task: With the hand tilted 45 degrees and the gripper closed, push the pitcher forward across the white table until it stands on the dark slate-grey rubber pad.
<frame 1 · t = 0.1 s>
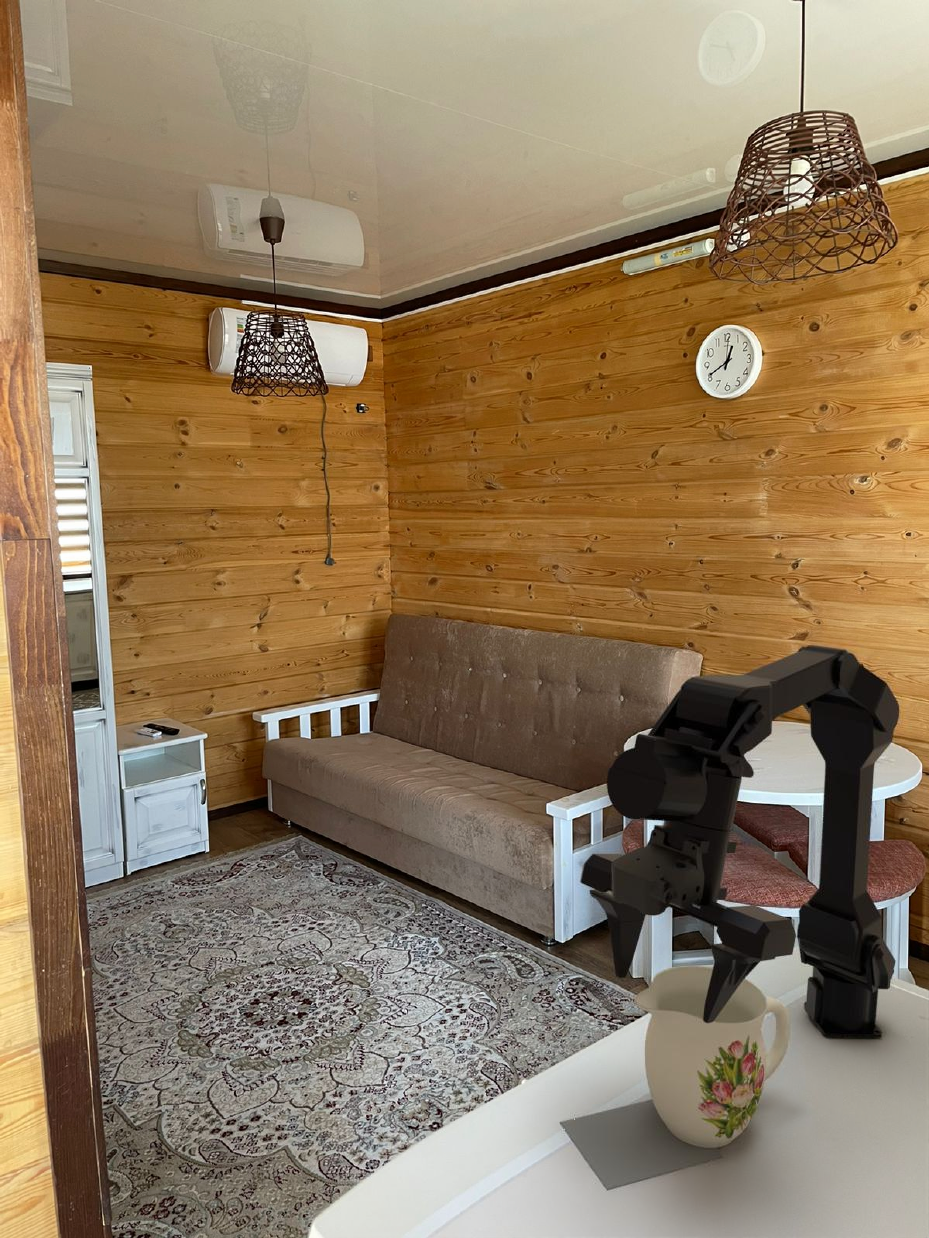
hand: (662, 998, 80), 15 cm above the table, tool pointing down, fingers open, 9 cm apart
pitcher: (708, 1122, 87), on the table, touching slate pad
slate pad: (639, 1143, 85), on the table
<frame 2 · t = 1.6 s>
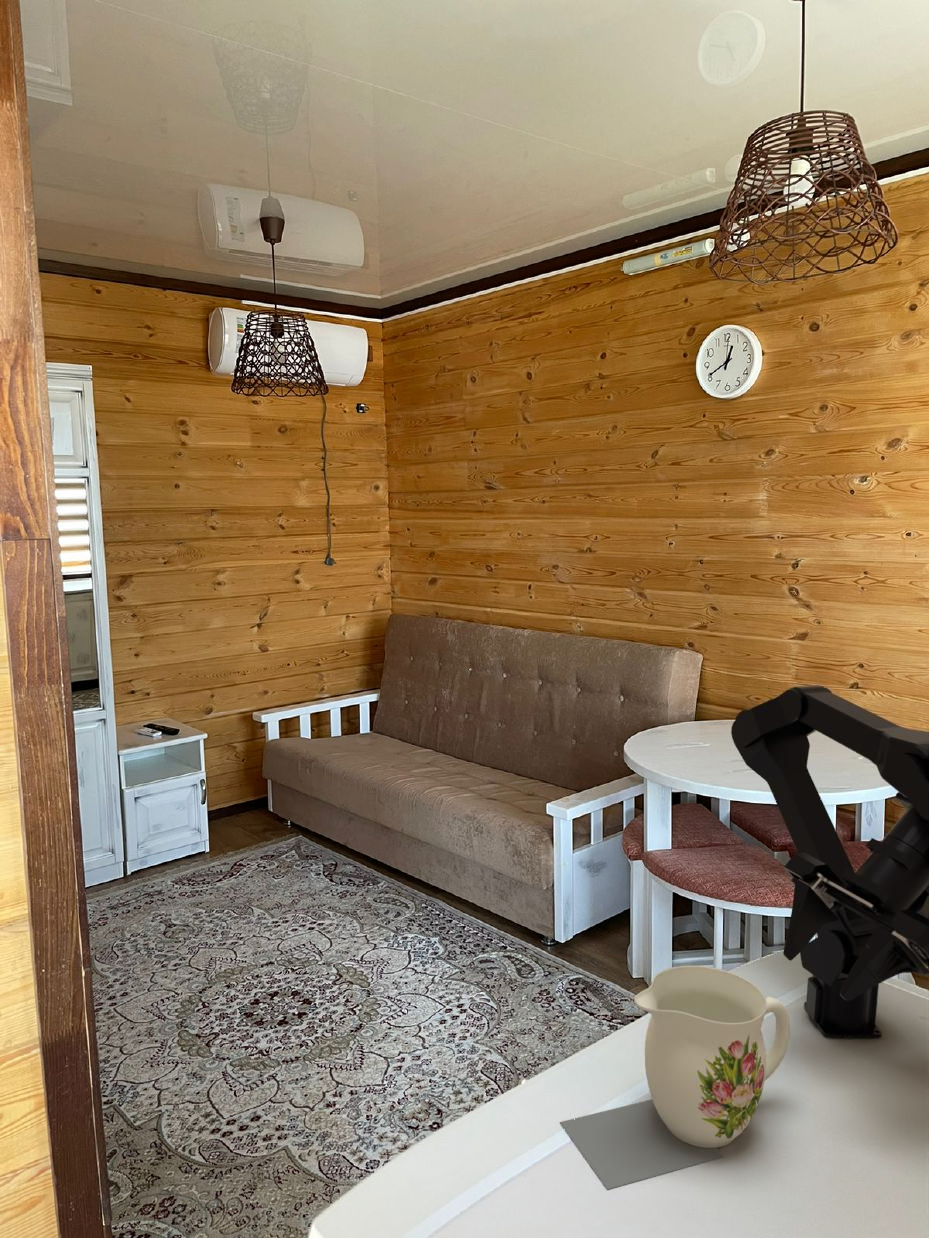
hand: (813, 976, 90), 13 cm above the table, tool tilted 45°, fingers open, 8 cm apart
nothing on the table moved.
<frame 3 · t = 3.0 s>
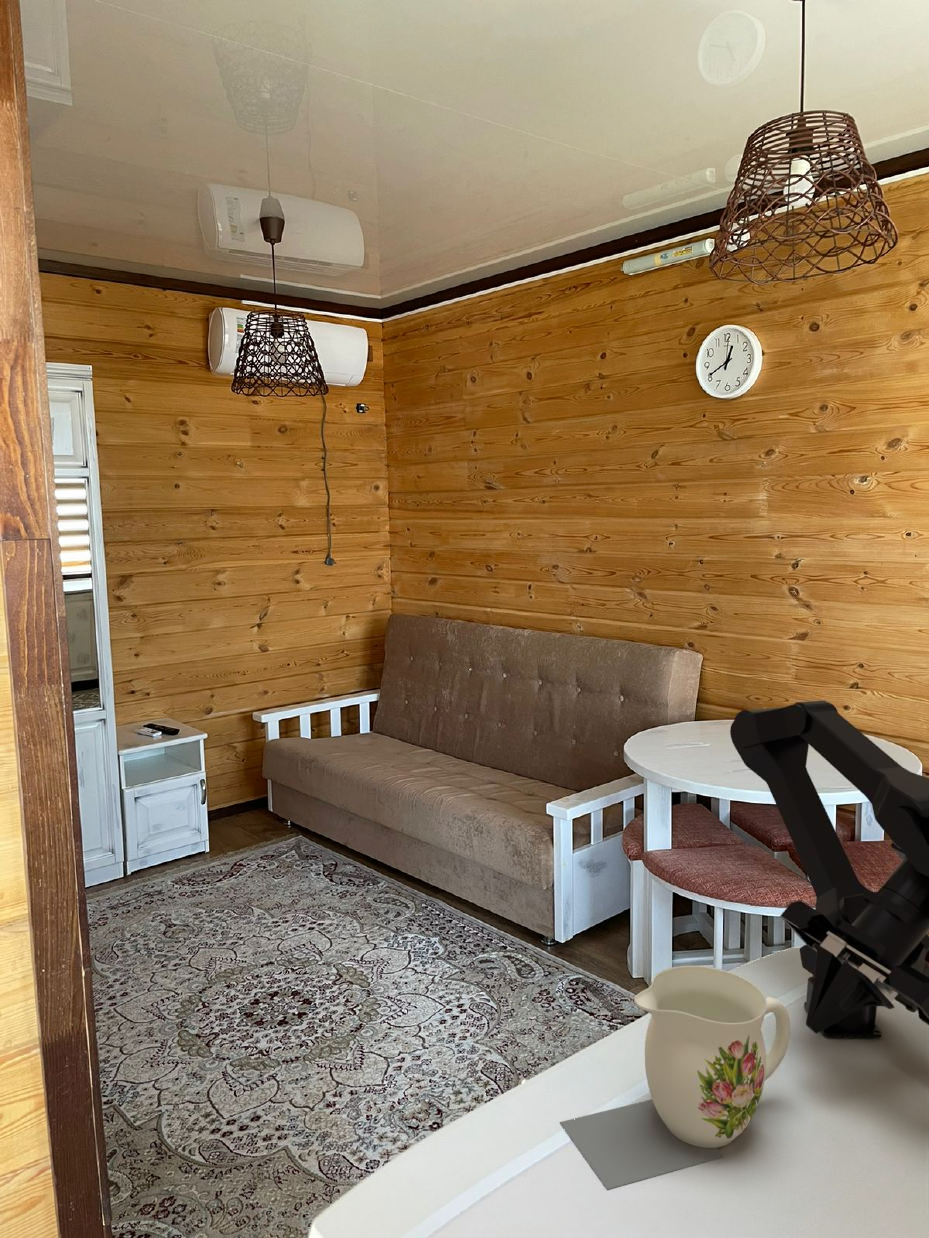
hand: (810, 1029, 90), 7 cm above the table, tool tilted 45°, fingers closed
nothing on the table moved.
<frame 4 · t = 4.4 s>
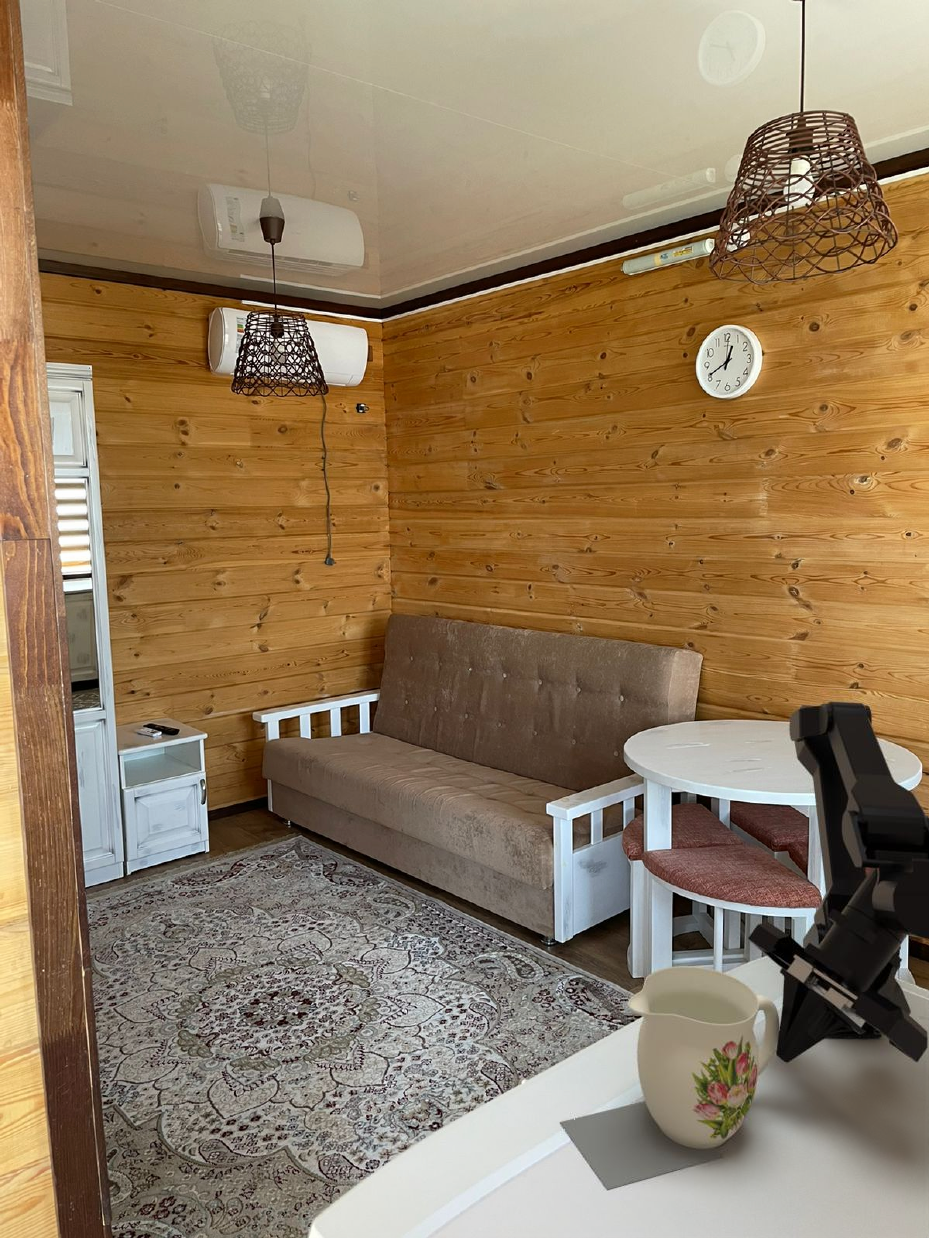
hand: (781, 1058, 87), 6 cm above the table, tool tilted 40°, fingers closed
pitcher: (700, 1123, 87), on the table, touching gripper, slate pad
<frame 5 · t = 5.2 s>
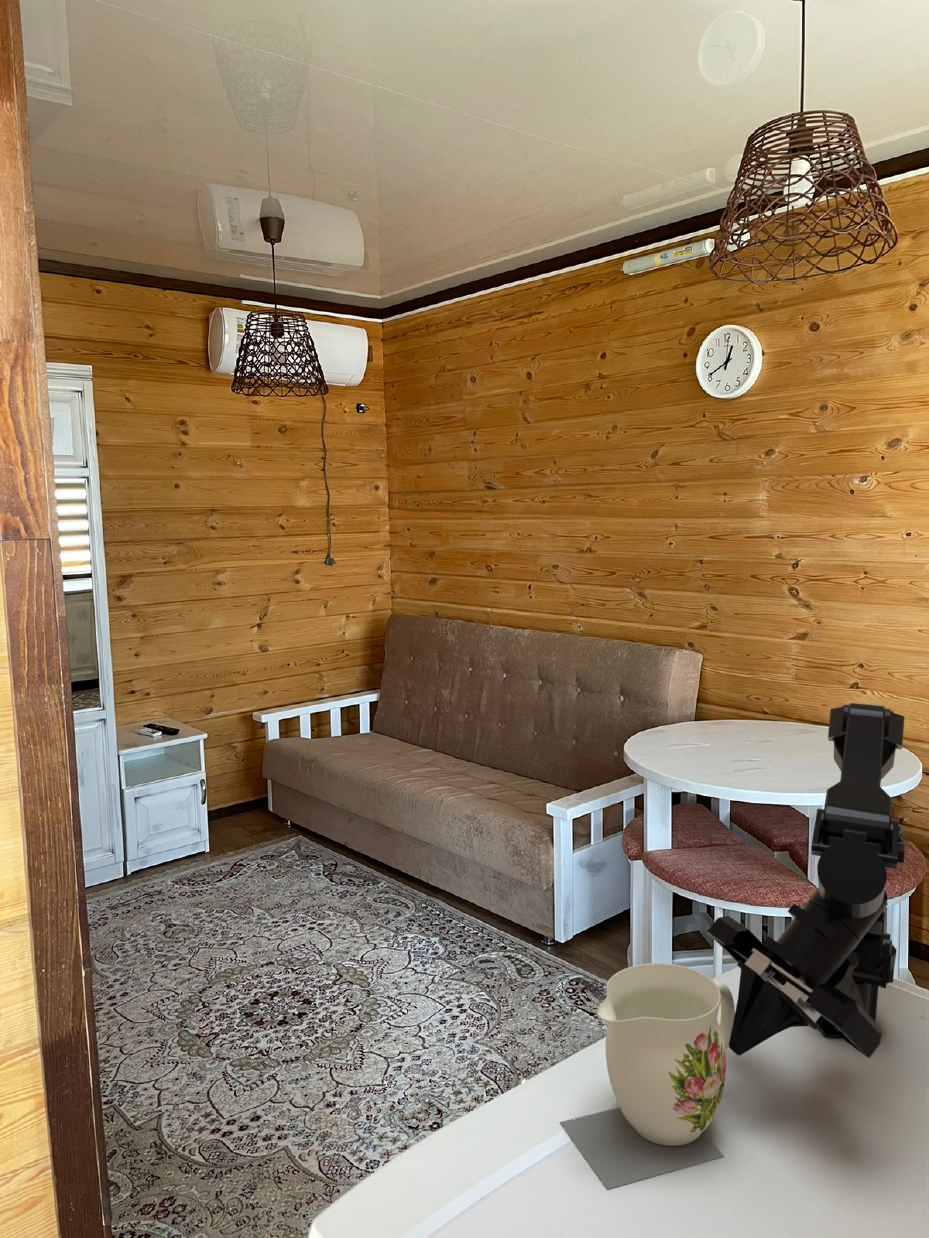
hand: (733, 1051, 87), 7 cm above the table, tool tilted 45°, fingers closed
pitcher: (674, 1118, 87), resting on slate pad, touching gripper
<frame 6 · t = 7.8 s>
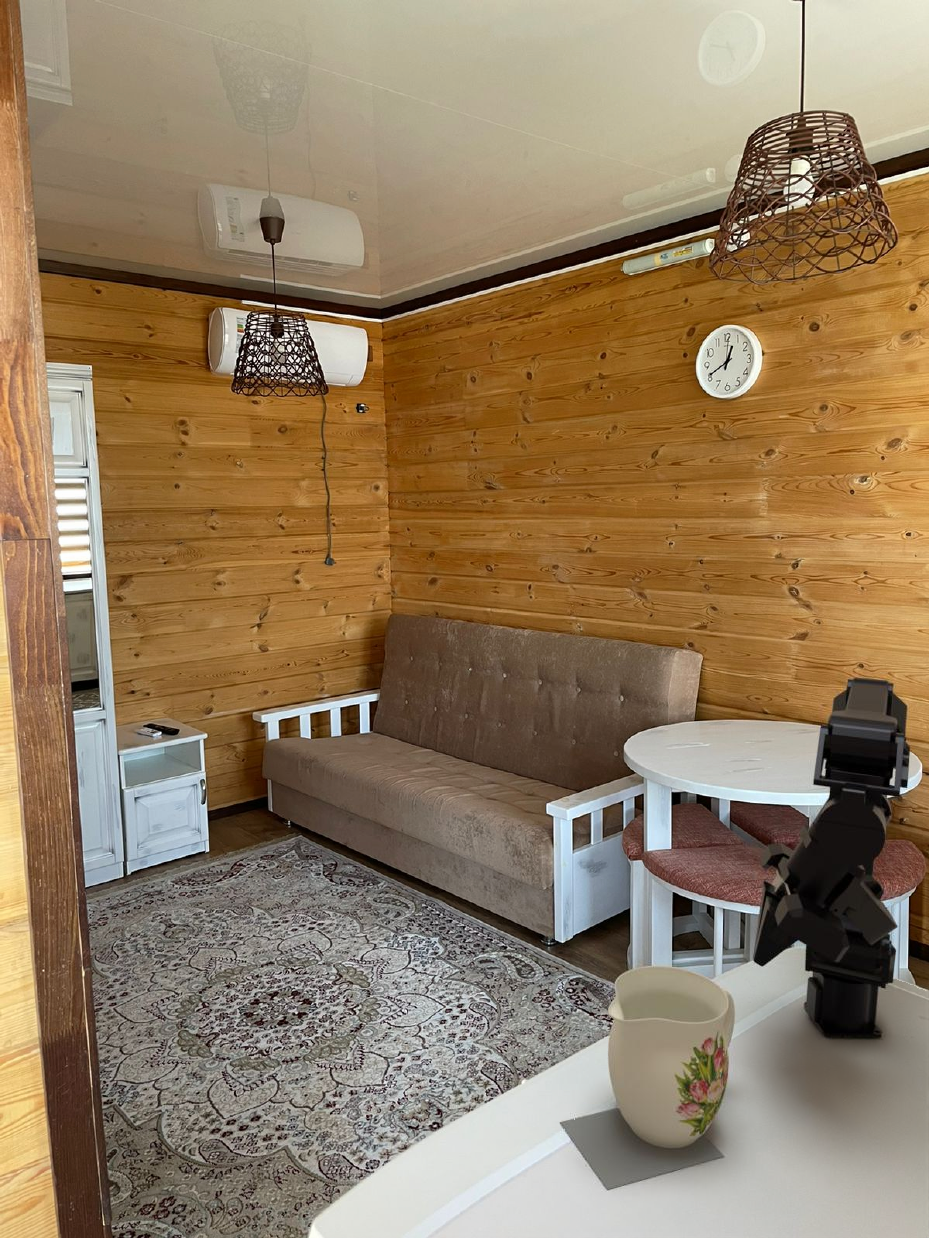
hand: (757, 962, 95), 11 cm above the table, tool tilted 25°, fingers closed
pitcher: (670, 1121, 87), resting on slate pad
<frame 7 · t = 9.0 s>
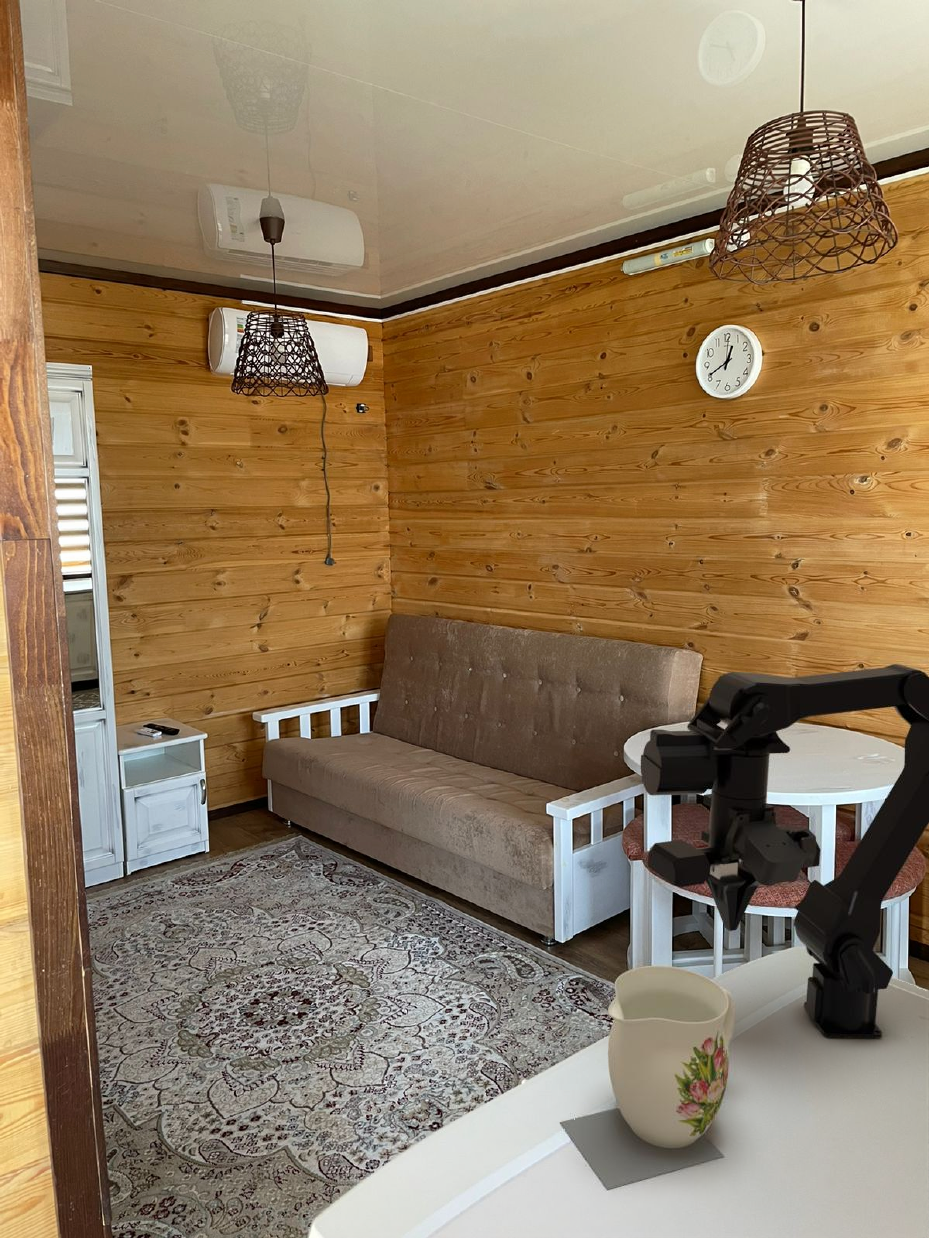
hand: (730, 929, 101), 12 cm above the table, tool pointing down, fingers closed
nothing on the table moved.
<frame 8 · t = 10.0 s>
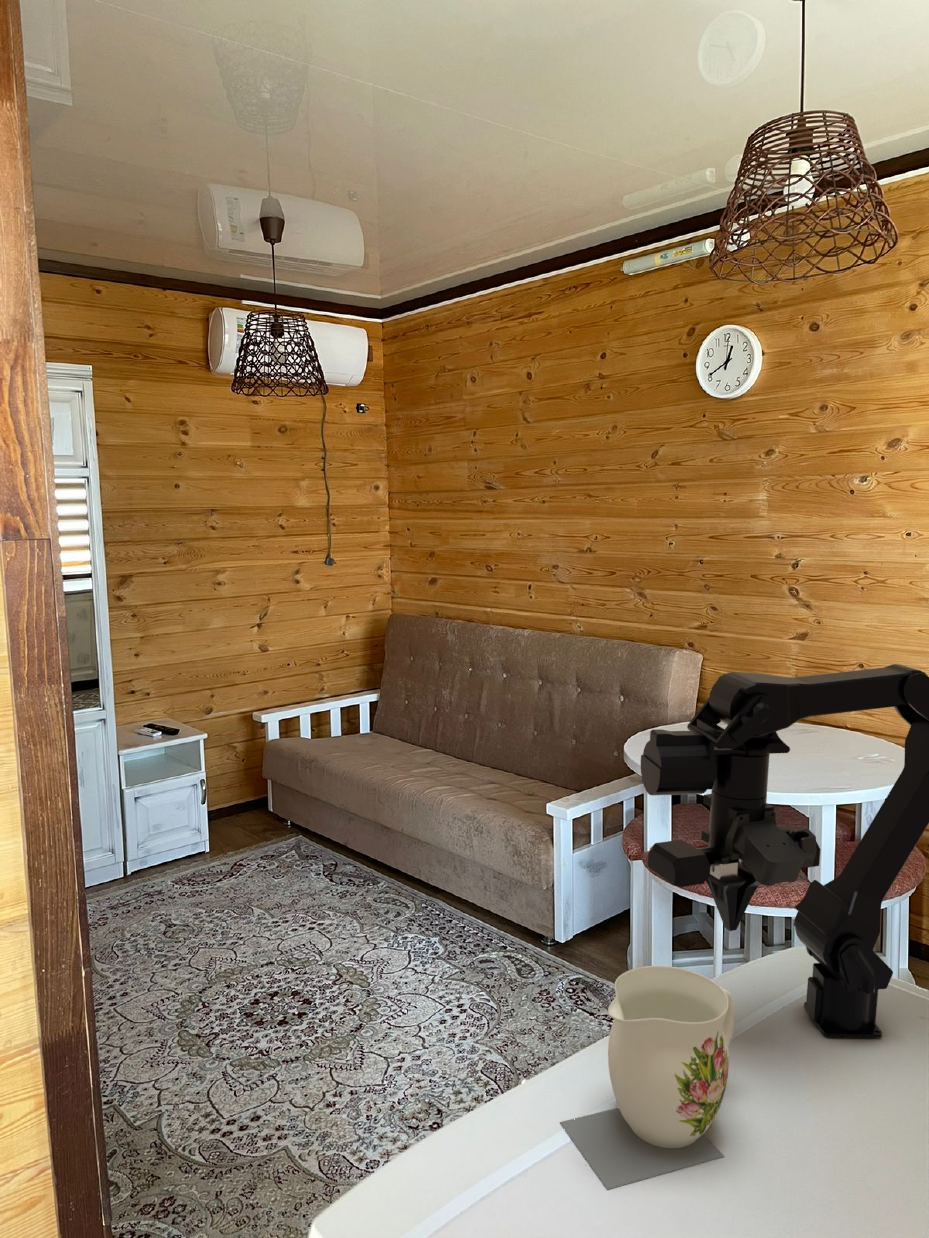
hand: (730, 929, 101), 12 cm above the table, tool pointing down, fingers closed
nothing on the table moved.
at the end: pitcher inside the target area on the slate pad (5.1 cm from its centre), point 0.3 cm above the slate pad's base; pitcher tilted 0°; pitcher moved 3.6 cm from its start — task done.
